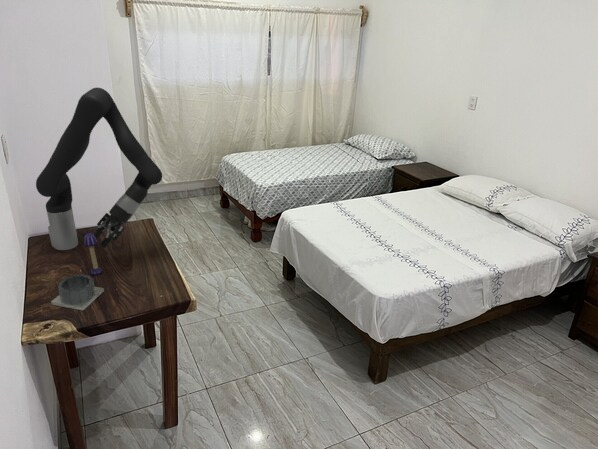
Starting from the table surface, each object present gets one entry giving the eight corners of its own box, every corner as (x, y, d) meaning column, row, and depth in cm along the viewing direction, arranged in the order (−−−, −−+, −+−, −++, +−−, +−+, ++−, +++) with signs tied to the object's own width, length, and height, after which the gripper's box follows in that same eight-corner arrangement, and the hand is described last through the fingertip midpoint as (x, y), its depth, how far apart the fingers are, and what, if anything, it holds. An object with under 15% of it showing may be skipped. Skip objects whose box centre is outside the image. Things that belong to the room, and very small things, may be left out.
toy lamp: (88, 276, 165) (81, 238, 158) (90, 269, 169) (83, 232, 162) (101, 275, 166) (95, 237, 159) (103, 268, 170) (97, 231, 163)
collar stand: (51, 304, 148) (48, 289, 146) (74, 285, 159) (71, 271, 156) (83, 310, 146) (80, 295, 144) (104, 290, 157) (101, 276, 154)
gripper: (110, 197, 167) (83, 230, 165) (124, 209, 158) (96, 245, 156) (125, 206, 173) (99, 239, 171) (139, 219, 164) (113, 254, 162)
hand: (98, 242), depth 163 cm, fingers open, 8 cm apart
